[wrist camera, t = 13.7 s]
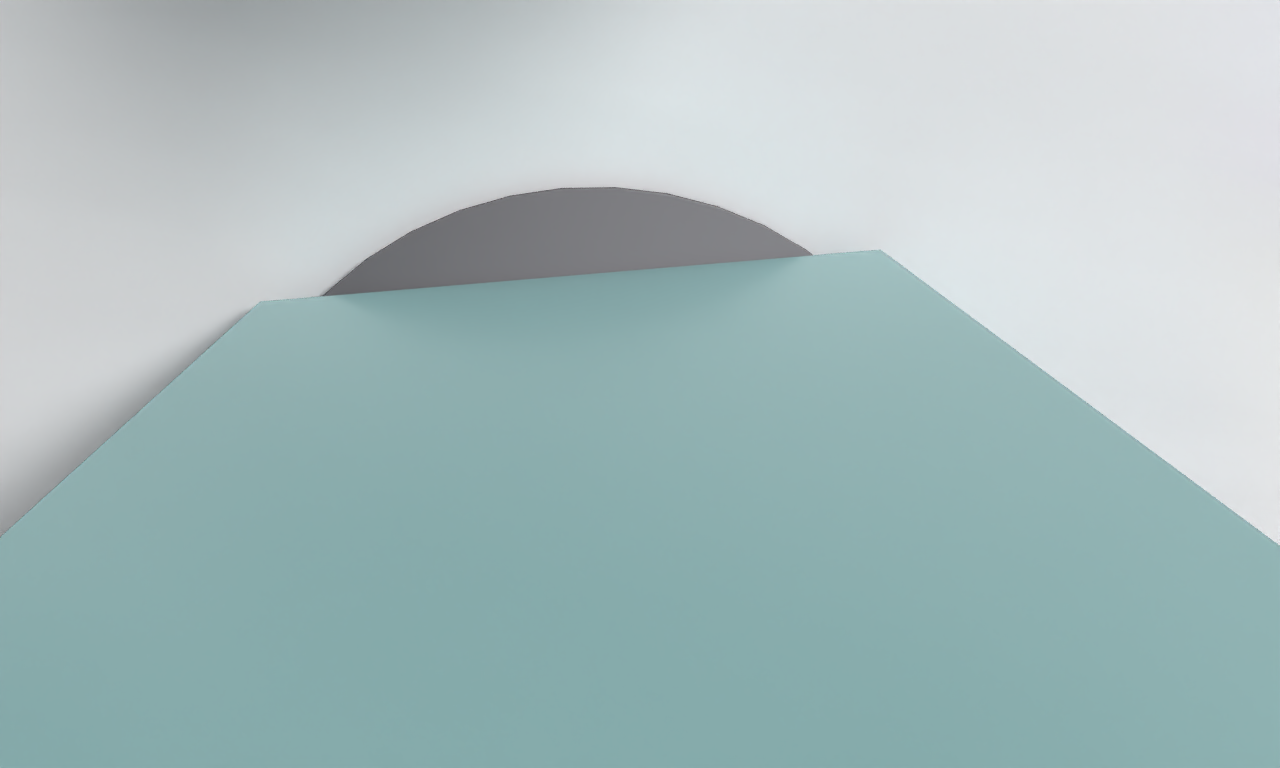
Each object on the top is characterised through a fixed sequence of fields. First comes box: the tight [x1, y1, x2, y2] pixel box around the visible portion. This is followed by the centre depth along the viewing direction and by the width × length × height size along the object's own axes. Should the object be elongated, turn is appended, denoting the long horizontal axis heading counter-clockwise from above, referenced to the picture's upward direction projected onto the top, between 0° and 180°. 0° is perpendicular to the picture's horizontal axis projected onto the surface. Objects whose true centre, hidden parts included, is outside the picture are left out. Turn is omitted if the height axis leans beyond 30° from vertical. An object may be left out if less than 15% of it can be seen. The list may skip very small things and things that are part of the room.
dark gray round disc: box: [325, 187, 812, 296], centre depth 13 cm, size 10×10×1 cm
